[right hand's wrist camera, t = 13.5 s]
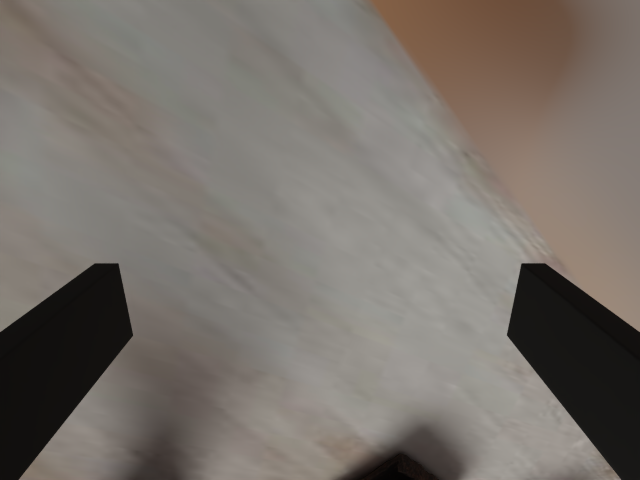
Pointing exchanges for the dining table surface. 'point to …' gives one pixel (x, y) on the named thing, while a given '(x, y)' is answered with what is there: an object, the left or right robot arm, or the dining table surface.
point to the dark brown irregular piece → (400, 470)
